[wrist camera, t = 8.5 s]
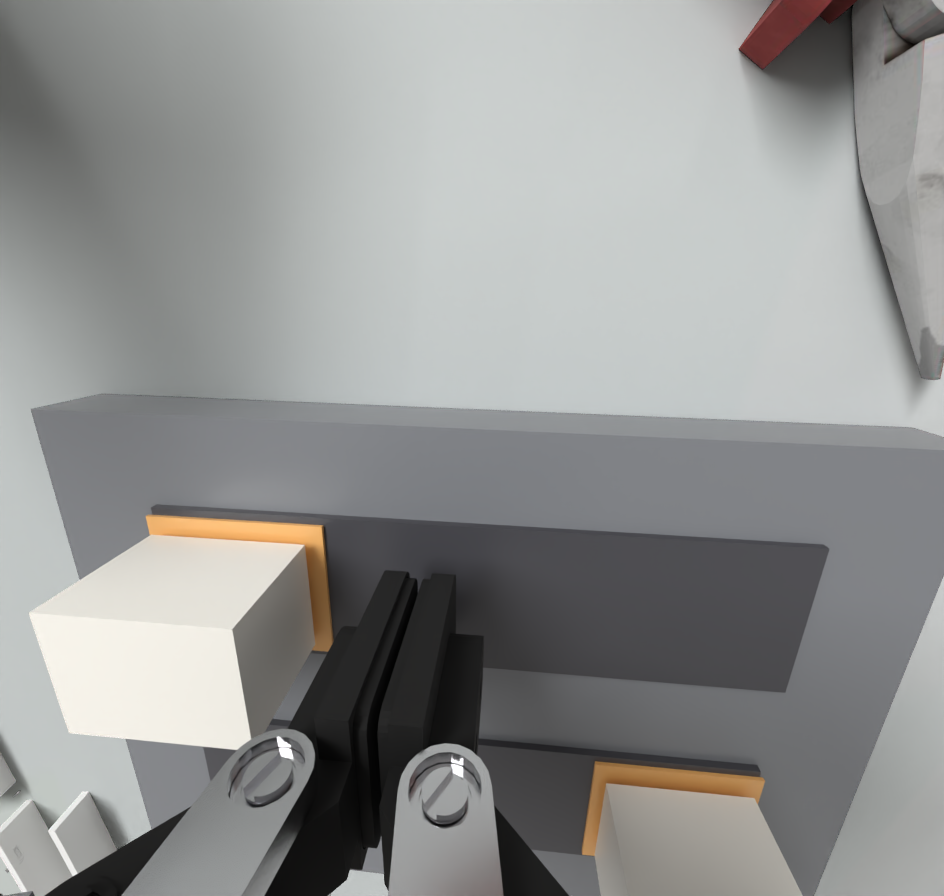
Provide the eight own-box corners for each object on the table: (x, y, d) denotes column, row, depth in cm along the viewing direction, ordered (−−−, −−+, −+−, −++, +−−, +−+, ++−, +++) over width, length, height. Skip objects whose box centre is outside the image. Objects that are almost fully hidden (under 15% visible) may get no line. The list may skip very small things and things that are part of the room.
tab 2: (754, 798, 12) (828, 947, 9) (731, 869, 13) (793, 1026, 10) (606, 783, 12) (634, 924, 10) (594, 854, 13) (617, 1002, 11)
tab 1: (304, 544, 11) (231, 629, 8) (315, 644, 12) (253, 751, 9) (151, 534, 11) (28, 612, 8) (172, 632, 12) (69, 733, 9)
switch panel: (912, 427, 11) (1008, 456, 9) (768, 850, 16) (808, 935, 14) (101, 393, 13) (17, 411, 11) (194, 789, 18) (150, 856, 16)
